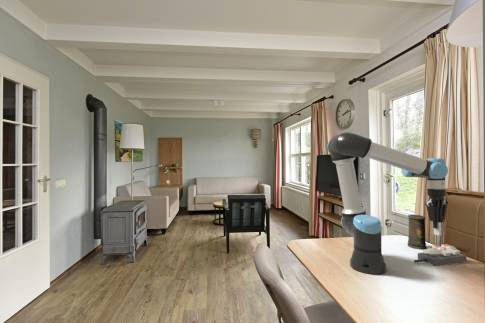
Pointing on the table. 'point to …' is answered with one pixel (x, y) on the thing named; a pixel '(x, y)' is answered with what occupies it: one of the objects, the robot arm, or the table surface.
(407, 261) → the table surface
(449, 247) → the rocker
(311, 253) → the table surface
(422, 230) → the container
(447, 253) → the rocker
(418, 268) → the table surface
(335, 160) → the robot arm
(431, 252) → the rocker
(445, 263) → the rocker switch panel
